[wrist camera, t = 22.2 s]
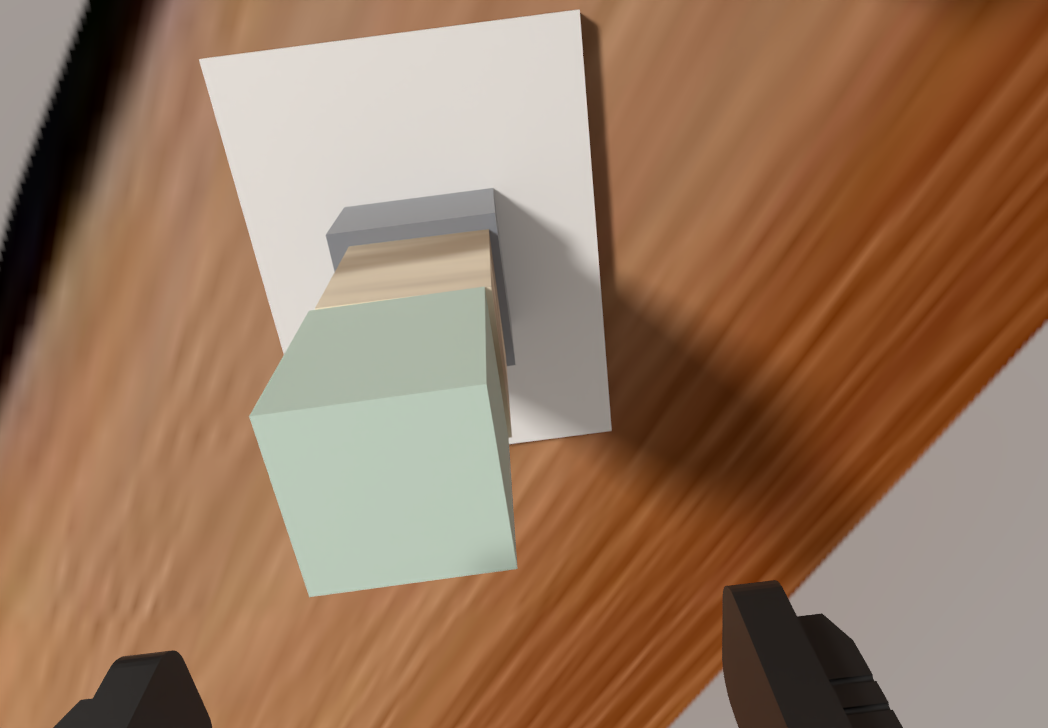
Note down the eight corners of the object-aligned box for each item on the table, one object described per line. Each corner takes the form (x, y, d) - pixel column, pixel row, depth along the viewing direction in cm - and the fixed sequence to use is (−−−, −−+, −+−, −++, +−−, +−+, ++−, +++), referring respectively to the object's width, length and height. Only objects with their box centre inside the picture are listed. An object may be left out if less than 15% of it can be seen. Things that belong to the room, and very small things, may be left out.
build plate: (208, 57, 28) (155, 67, 23) (576, 9, 28) (595, 9, 23) (321, 457, 36) (298, 521, 31) (608, 420, 36) (626, 479, 31)
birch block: (348, 246, 26) (315, 308, 21) (488, 229, 26) (491, 286, 21) (376, 371, 28) (352, 457, 23) (506, 355, 28) (512, 437, 23)
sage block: (308, 310, 21) (248, 416, 15) (484, 286, 21) (486, 384, 15) (349, 458, 23) (309, 596, 18) (508, 437, 23) (517, 569, 18)
